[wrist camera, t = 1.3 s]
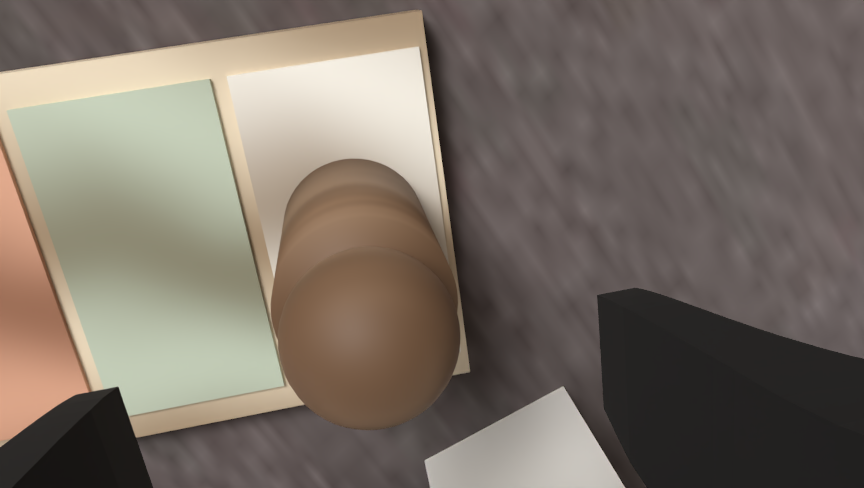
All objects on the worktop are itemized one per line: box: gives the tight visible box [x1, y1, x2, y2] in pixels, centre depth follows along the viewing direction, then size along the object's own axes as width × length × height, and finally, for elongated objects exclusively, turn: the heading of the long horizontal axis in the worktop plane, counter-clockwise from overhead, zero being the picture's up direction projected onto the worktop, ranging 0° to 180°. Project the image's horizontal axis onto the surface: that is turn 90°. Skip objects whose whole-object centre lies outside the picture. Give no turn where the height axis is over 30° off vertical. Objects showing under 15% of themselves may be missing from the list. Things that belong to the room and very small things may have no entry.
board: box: [0, 10, 470, 447], centre depth 18 cm, size 10×15×1 cm, turn 98°
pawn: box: [271, 158, 460, 430], centre depth 15 cm, size 4×4×8 cm
